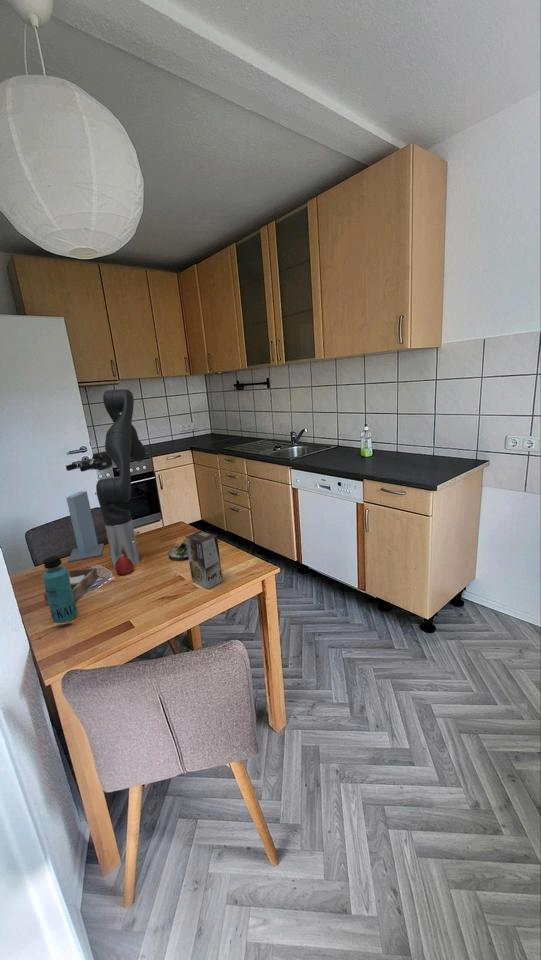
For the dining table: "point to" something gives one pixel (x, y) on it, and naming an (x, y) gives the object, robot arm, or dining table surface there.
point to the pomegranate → (123, 565)
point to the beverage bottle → (59, 590)
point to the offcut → (76, 579)
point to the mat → (91, 554)
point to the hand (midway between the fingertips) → (73, 468)
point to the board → (82, 522)
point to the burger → (178, 551)
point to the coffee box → (204, 558)
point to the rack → (83, 585)
